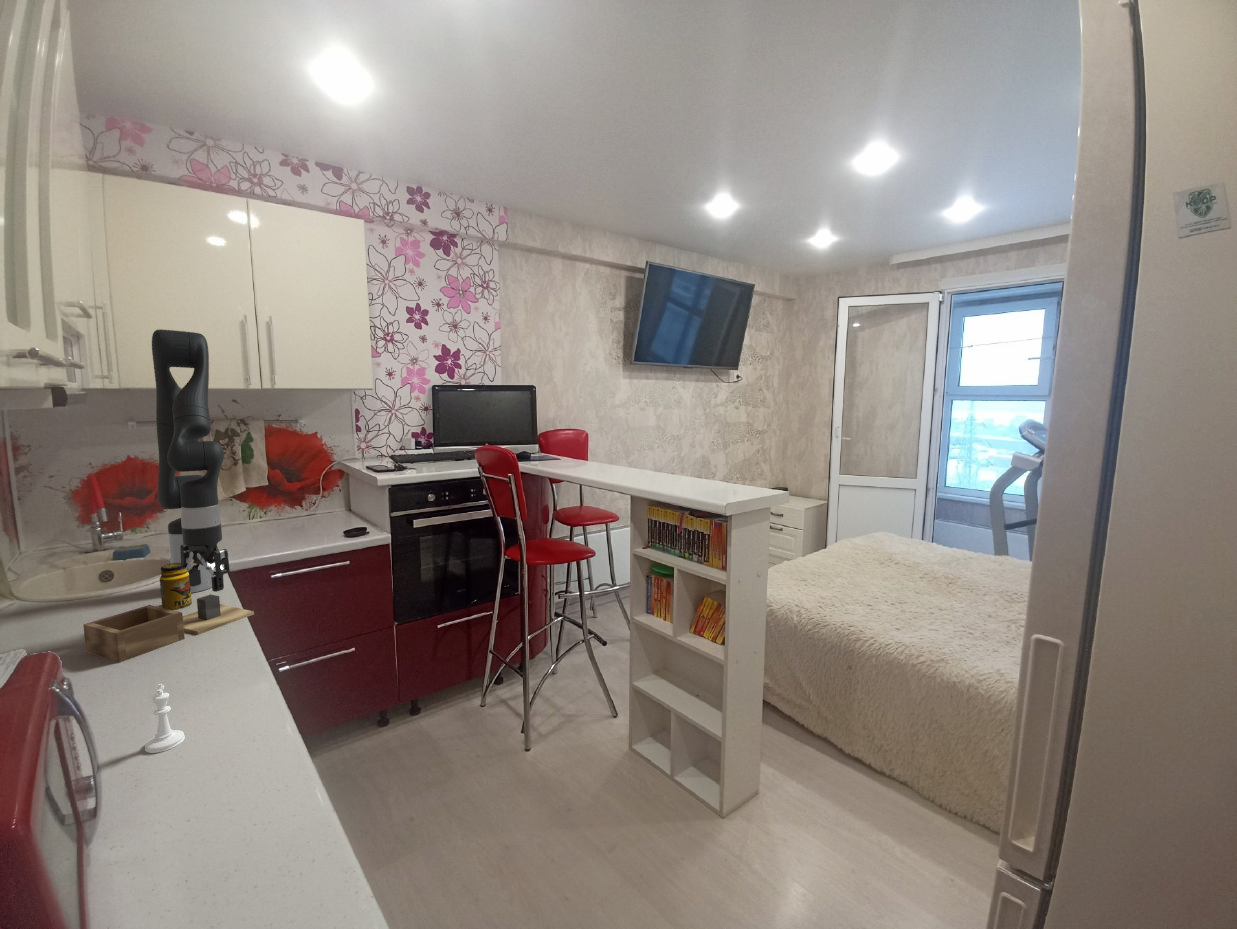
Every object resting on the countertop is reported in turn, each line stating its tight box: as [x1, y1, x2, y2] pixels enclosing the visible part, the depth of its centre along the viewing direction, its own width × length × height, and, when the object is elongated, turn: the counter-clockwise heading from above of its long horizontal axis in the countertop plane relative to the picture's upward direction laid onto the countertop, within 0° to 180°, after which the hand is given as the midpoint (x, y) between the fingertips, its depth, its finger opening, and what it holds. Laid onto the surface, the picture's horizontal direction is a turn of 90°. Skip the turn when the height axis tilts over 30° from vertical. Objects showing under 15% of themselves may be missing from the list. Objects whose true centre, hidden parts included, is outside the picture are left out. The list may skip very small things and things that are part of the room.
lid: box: [183, 594, 255, 636], centre depth 131 cm, size 13×13×7 cm
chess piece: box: [144, 683, 186, 754], centre depth 85 cm, size 5×5×10 cm
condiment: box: [159, 562, 193, 611], centre depth 139 cm, size 7×8×12 cm
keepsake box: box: [83, 604, 186, 664], centre depth 117 cm, size 12×12×7 cm
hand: (206, 587), depth 130 cm, fingers open, 8 cm apart
